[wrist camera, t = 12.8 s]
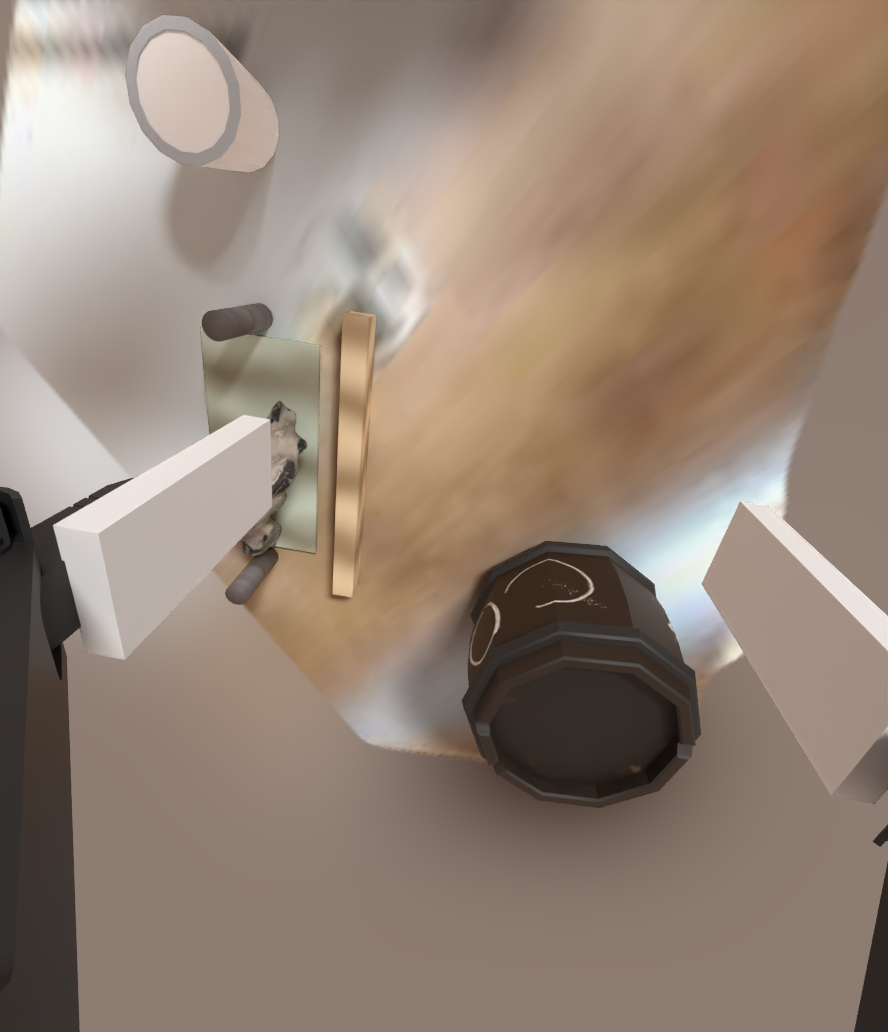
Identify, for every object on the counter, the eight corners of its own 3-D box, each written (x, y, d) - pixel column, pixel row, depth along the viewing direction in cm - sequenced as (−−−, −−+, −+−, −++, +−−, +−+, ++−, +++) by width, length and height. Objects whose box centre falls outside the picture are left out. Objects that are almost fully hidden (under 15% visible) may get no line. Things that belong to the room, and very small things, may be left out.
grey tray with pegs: (199, 287, 40) (142, 291, 34) (376, 315, 39) (352, 324, 33) (222, 559, 52) (184, 599, 46) (358, 583, 51) (338, 627, 45)
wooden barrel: (434, 613, 52) (408, 741, 38) (554, 495, 45) (577, 599, 31) (561, 701, 56) (580, 848, 42) (692, 605, 48) (768, 744, 34)
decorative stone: (299, 561, 49) (228, 610, 40) (224, 520, 51) (140, 559, 42) (341, 413, 43) (267, 432, 34) (254, 370, 44) (161, 377, 35)
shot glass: (298, 176, 36) (254, 157, 29) (209, 189, 37) (149, 173, 30) (273, 51, 33) (219, 1, 26) (178, 69, 34) (104, 25, 27)
